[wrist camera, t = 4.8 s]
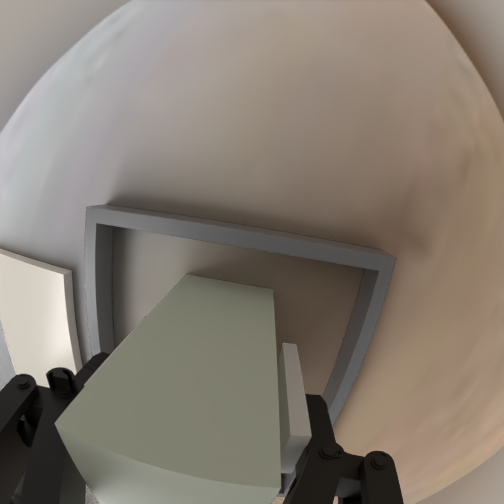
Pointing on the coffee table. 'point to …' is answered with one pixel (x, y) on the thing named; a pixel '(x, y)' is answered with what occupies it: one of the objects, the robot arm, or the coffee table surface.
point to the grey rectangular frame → (262, 239)
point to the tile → (38, 316)
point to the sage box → (185, 403)
